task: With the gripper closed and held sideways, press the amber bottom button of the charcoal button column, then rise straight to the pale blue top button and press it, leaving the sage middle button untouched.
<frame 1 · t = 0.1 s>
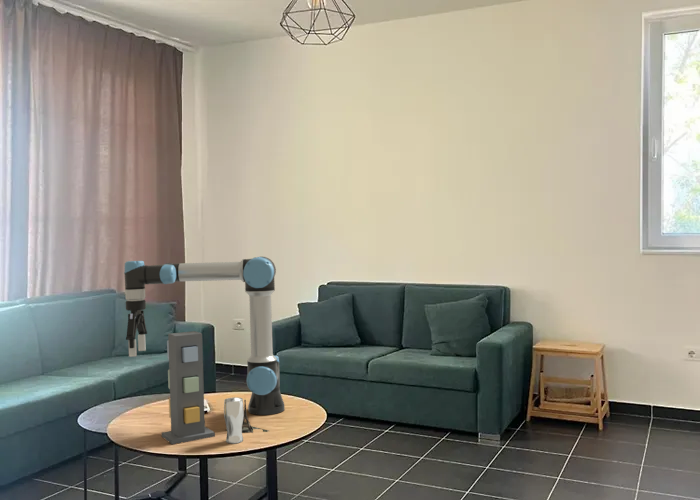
hand: (137, 353, 269), 28 cm above the table, tool pointing down, fingers open, 13 cm apart
eiffel tower figurine: (247, 432, 256), on the table
blue button: (183, 351, 252), point 31 cm above the table, slide at 0.0 cm
amber button: (185, 410, 252), point 9 cm above the table, slide at 0.0 cm
button column: (188, 436, 250), on the table
sage button: (184, 381, 252), point 20 cm above the table, slide at 0.0 cm
beer glass: (234, 441, 243), on the table
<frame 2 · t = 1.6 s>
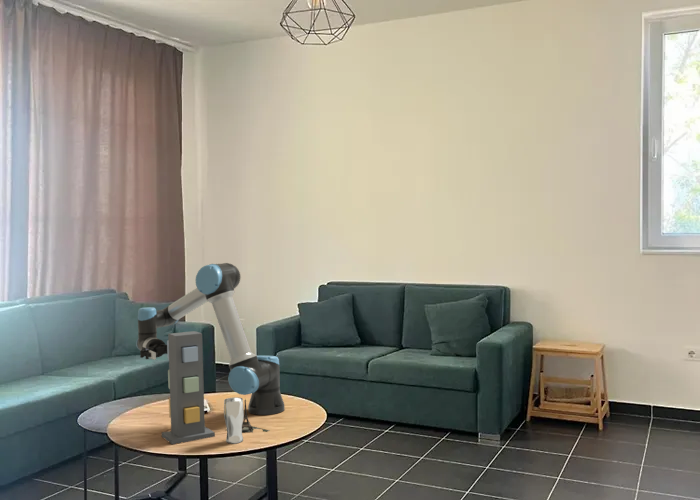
hand: (171, 354, 264), 28 cm above the table, tool horizontal, fingers open, 12 cm apart
nothing on the table moved.
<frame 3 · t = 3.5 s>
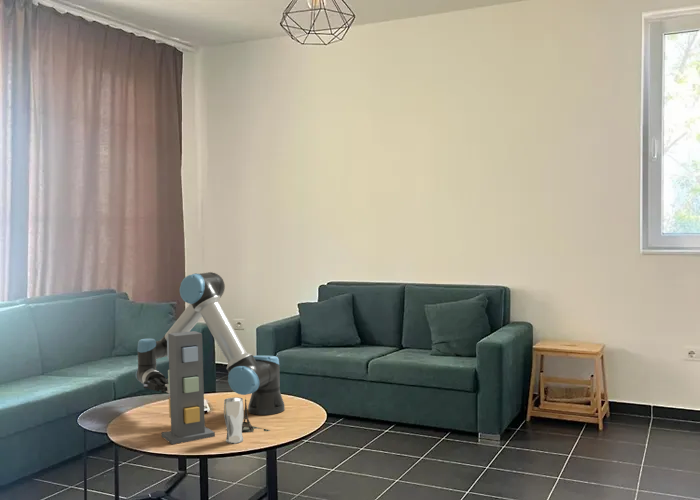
hand: (171, 390, 263), 14 cm above the table, tool horizontal, fingers closed
nothing on the table moved.
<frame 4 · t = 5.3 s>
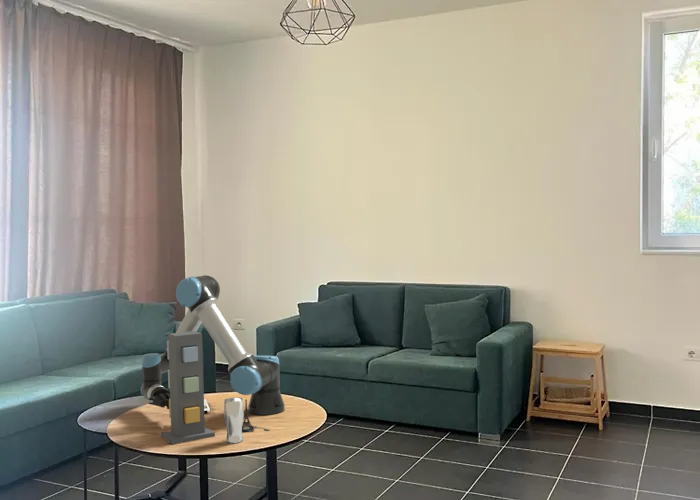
hand: (177, 406, 259), 9 cm above the table, tool horizontal, fingers closed
amber button: (185, 411, 252), point 9 cm above the table, slide at 0.1 cm, touching gripper
everything else where it was.
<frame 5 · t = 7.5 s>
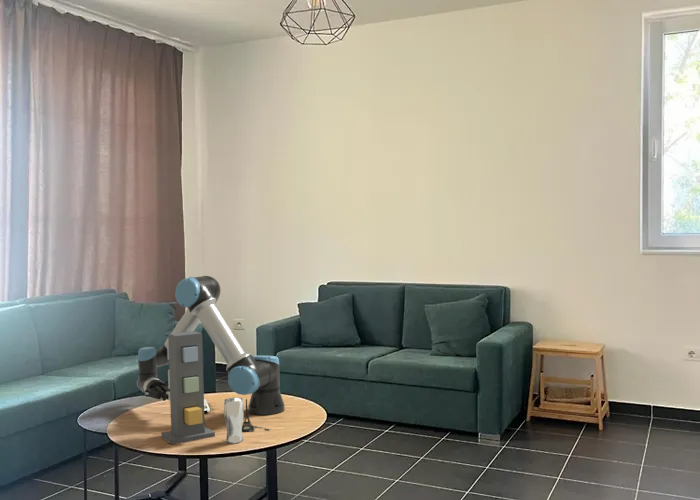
hand: (173, 398, 263), 11 cm above the table, tool horizontal, fingers closed
amber button: (187, 412, 250), point 9 cm above the table, slide at 2.8 cm
everything else where it was.
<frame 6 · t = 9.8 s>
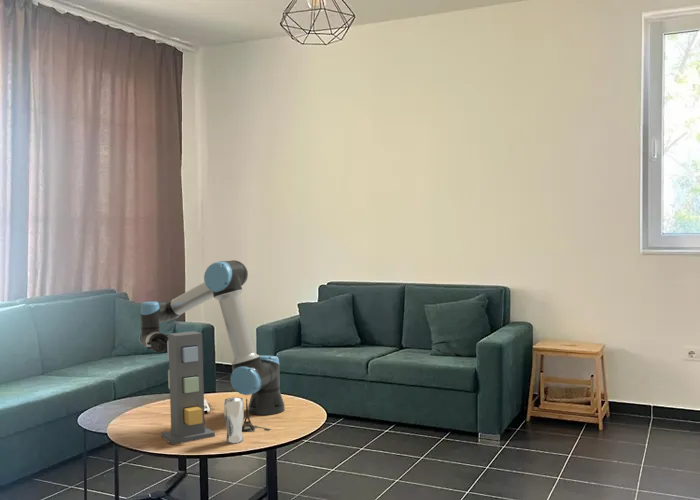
hand: (175, 349, 259), 31 cm above the table, tool horizontal, fingers closed
blue button: (183, 351, 252), point 31 cm above the table, slide at 0.1 cm, touching gripper
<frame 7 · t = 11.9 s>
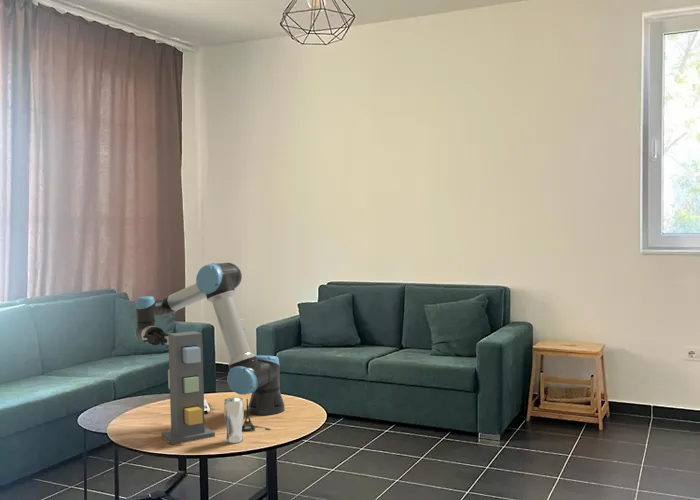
hand: (171, 341, 265), 33 cm above the table, tool horizontal, fingers closed
blue button: (186, 352, 249), point 31 cm above the table, slide at 2.8 cm
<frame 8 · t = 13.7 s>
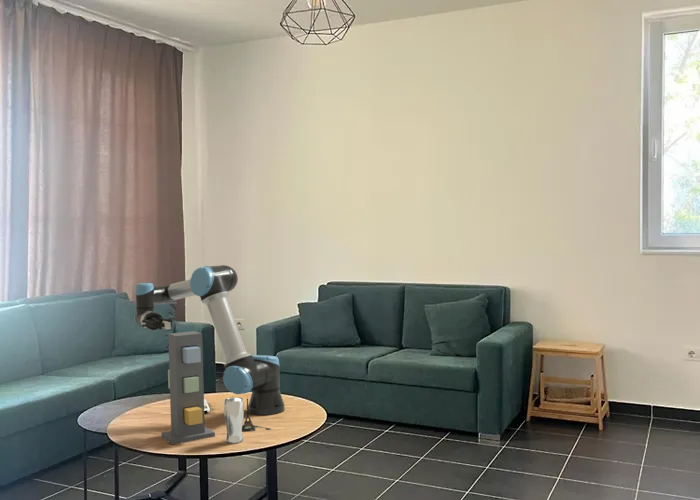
hand: (168, 325, 273), 38 cm above the table, tool horizontal, fingers closed
at the end: amber button slide at 2.8 cm; blue button slide at 2.8 cm; sage button slide at 0.0 cm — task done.
